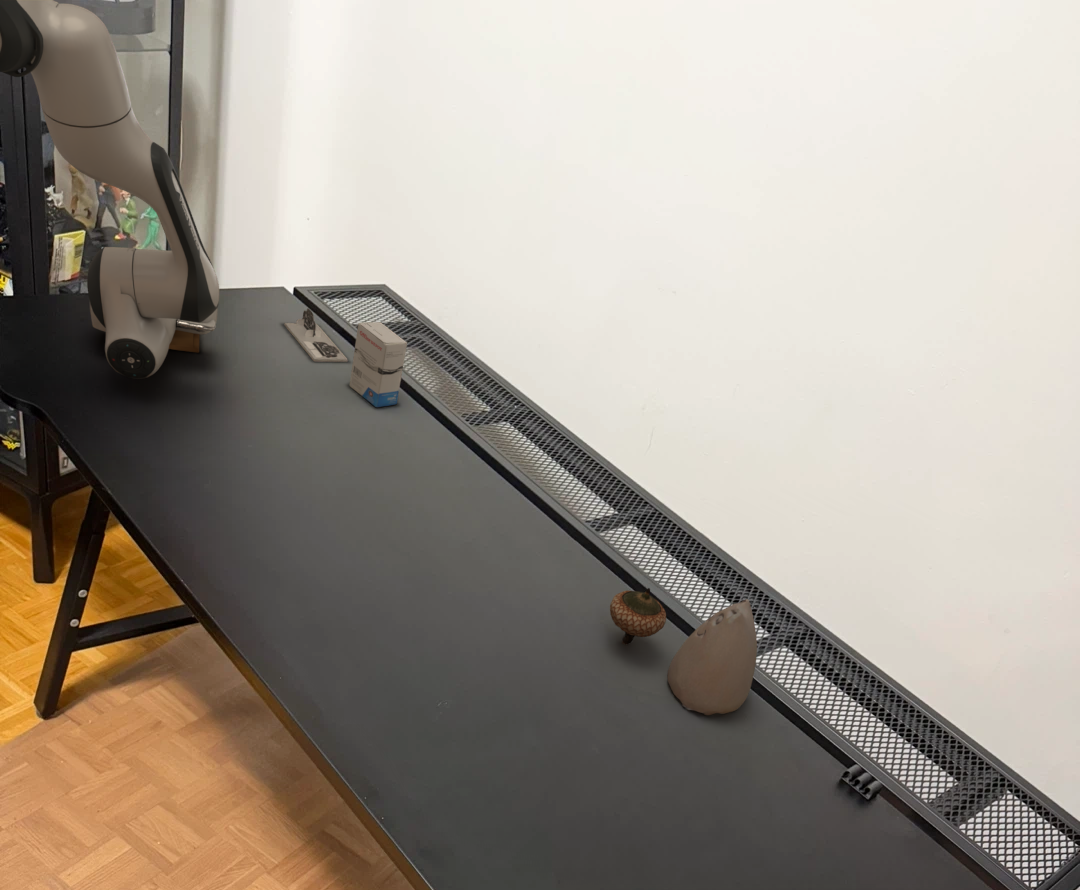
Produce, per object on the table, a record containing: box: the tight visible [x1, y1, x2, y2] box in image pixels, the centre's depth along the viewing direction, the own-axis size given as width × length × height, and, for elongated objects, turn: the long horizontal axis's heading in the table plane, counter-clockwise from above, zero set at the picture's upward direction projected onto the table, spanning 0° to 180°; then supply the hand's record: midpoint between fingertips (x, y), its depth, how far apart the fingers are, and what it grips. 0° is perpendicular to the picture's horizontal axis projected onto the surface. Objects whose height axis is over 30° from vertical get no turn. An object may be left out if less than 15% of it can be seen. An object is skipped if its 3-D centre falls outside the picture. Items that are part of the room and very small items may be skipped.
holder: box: [168, 330, 201, 354], centre depth 179 cm, size 13×13×4 cm
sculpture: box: [667, 598, 758, 716], centre depth 138 cm, size 13×12×15 cm
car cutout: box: [283, 308, 349, 363], centre depth 192 cm, size 15×7×4 cm, turn 31°
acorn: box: [609, 587, 667, 646], centre depth 143 cm, size 8×8×10 cm
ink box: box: [348, 321, 408, 408], centre depth 179 cm, size 9×5×12 cm, turn 42°
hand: (160, 288), depth 176 cm, fingers closed on supplement bottle, 5 cm apart
